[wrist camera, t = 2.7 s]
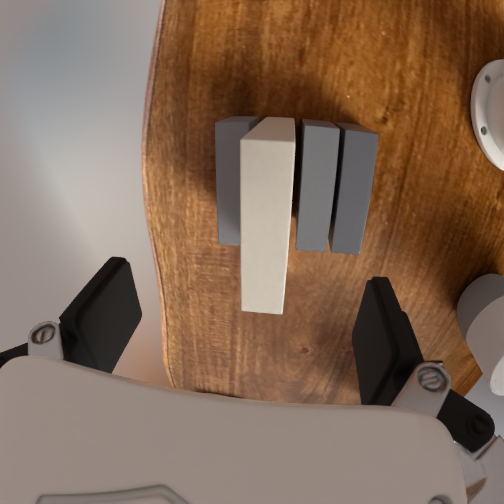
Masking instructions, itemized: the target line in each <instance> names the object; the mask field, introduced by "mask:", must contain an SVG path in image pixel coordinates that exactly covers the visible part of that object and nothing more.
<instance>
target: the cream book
mask: <svg viewBox="0 0 504 504" xmlns="http://www.w3.org/2000/svg"><path fill="white" fill-rule="evenodd" d="M294 160H295V120H294V118H283V117H266V118H265V119H264V120H263V121H261V122H260V123H259V124H258V125H257V126H255V127H254V128H253V129H252V130H251V131H250V132H249V133H247V134H246V135H245V136H244V137H243V138H242V139H241V140H240V262H241V310H242V311H250V312H260V313H272V314H282V313H283V304H284V293H285V282H286V271H287V260H288V248H289V235H290V222H291V208H292V193H293V177H294Z"/></svg>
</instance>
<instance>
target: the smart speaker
mask: <svg viewBox="0 0 504 504" xmlns="http://www.w3.org/2000/svg"><path fill="white" fill-rule="evenodd" d="M457 321H458V326H459V329H460V331H461V334H462V336H463V338H464V340H465V342H466V343H467V345H468V347H469V349H470V351H471V352H472V354H473V356H474V358H475V360H476V361H477V363H478V365H479V367H480V369H481V371H482V373H483V374H484V376H485V378H486V380H487V382H488V384H489V386H490V388H491V390H492V391H493V392H494V393H495V394H497V395H504V277H503V276H501V275H498V274H486V275H483V276H481V277H479V278H477V279H476V280H474V281H473V282H472V283H471V284H470V285H469V286H468V287H467V288H466V289H465V290H464V292H463V293H462V295H461V297H460V299H459V302H458V305H457Z"/></svg>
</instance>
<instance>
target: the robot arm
mask: <svg viewBox="0 0 504 504" xmlns="http://www.w3.org/2000/svg"><path fill="white" fill-rule="evenodd" d="M471 119H472V124H473V129H474V132H475V135H476V139H477V141H478V143H479V145H480V147H481V149H482V151H483V152H484V154H485V155H486V157H487V158H488V159H489V160H490V161H491V162H492V163H493V164H494V165H495V166H497V167H498V168H499V169H501V170H503V171H504V59H502V60H494V61H492V62H489V63H488V64H486V65H485V66H484V67H483V68H482V69H481V70H480V72H479V73H478V75H477V77H476V79H475V82H474V84H473V89H472V93H471ZM141 317H142V311H141V307H140V303H139V300H138V296H137V292H136V288H135V284H134V280H133V276H132V271H131V267H130V263H129V262H127V261H126V259H125V258H121V257H111V258H110V259H109V260H108V261H107V262H106V263H105V264H104V265H103V266H102V268H101V269H100V270H99V271H98V272H97V273H96V274H95V275H94V277H93V278H92V279H91V280H90V281H89V282H88V283H87V285H86V286H85V287H84V288H83V289H82V290H81V292H80V293H79V294H78V295H77V296H76V297H75V299H74V300H73V301H72V302H71V304H70V305H69V306H68V307H67V308H66V310H65V311H64V312H63V313H62V315H61V316H60V317H59V319H60V324H59V325H58V324H57V323H55V322H52V321H46V322H42V323H40V324H38V325H36V326H35V327H34V328H33V329H32V330H31V332H30V333H29V336H28V343H25V344H22V345H20V346H18V347H14V348H12V349H9V350H7V351H4V352H1V353H0V504H504V439H503V438H502V437H501V436H500V435H499V436H498V437H496V436H495V434H494V431H495V426H494V422H493V419H492V418H491V417H490V415H489V414H488V413H486V411H484V410H482V409H481V408H479V407H478V406H476V405H475V404H473V403H472V402H470V401H468V400H467V399H465V398H464V397H462V396H461V395H459V394H458V393H456V392H455V391H453V390H451V389H450V387H451V377H450V375H449V373H448V371H447V370H446V369H445V368H444V367H442V366H441V365H440V364H437V363H435V362H424V359H423V356H422V353H421V351H420V348H419V345H418V342H417V339H416V337H415V334H414V331H413V329H412V326H411V324H410V321H409V319H408V316H407V314H406V313H405V312H404V311H402V310H401V308H400V305H399V303H398V300H397V298H396V295H395V293H394V290H393V288H392V286H391V283H390V281H389V279H388V278H387V277H375V276H374V277H373V278H372V280H368V281H367V283H366V287H365V291H364V294H363V298H362V301H361V305H360V309H359V312H358V315H357V319H356V322H355V325H354V329H353V332H352V343H353V349H354V355H355V361H356V368H357V374H358V381H359V389H360V396H361V404H362V405H330V404H304V403H286V402H272V401H261V400H251V399H242V398H233V397H226V396H218V395H211V394H205V393H199V392H193V391H187V390H181V389H176V388H171V387H165V386H160V385H156V384H151V383H147V382H142V381H138V380H133V379H130V378H125V377H122V376H118V375H114V374H111V373H112V371H113V369H114V368H115V366H116V364H117V362H118V360H119V358H120V356H121V355H122V353H123V351H124V349H125V347H126V345H127V344H128V342H129V340H130V338H131V336H132V335H133V333H134V331H135V329H136V328H137V326H138V324H139V322H140V320H141Z"/></svg>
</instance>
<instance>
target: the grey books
mask: <svg viewBox="0 0 504 504" xmlns="http://www.w3.org/2000/svg"><path fill="white" fill-rule="evenodd" d="M257 125H258V117H257V116H231V117H228V118H226V119H223V120H221V121H218V122H216V123H215V150H216V188H217V216H218V240H219V244H230V245H240V140H241V139H242V138H243V137H244V136H245V135H246V134H247V133H249V132H250V131H251V130H252V129H253V128H254V127H255V126H257ZM377 144H378V134H377V133H375V132H374V131H372V130H370V129H368V128H366V127H364V126H362V125H357V124H349V123H341V122H335V124H333V123H332V122H330V121H323V120H312V119H302V137H301V155H300V171H299V186H298V200H297V213H296V250H306V251H319V252H326V248H327V241H328V240H329V245H330V250H331V252H334V253H346V254H360V250H361V245H362V240H363V235H364V230H365V225H366V219H367V213H368V208H369V202H370V195H371V189H372V182H373V175H374V168H375V160H376V152H377Z"/></svg>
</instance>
